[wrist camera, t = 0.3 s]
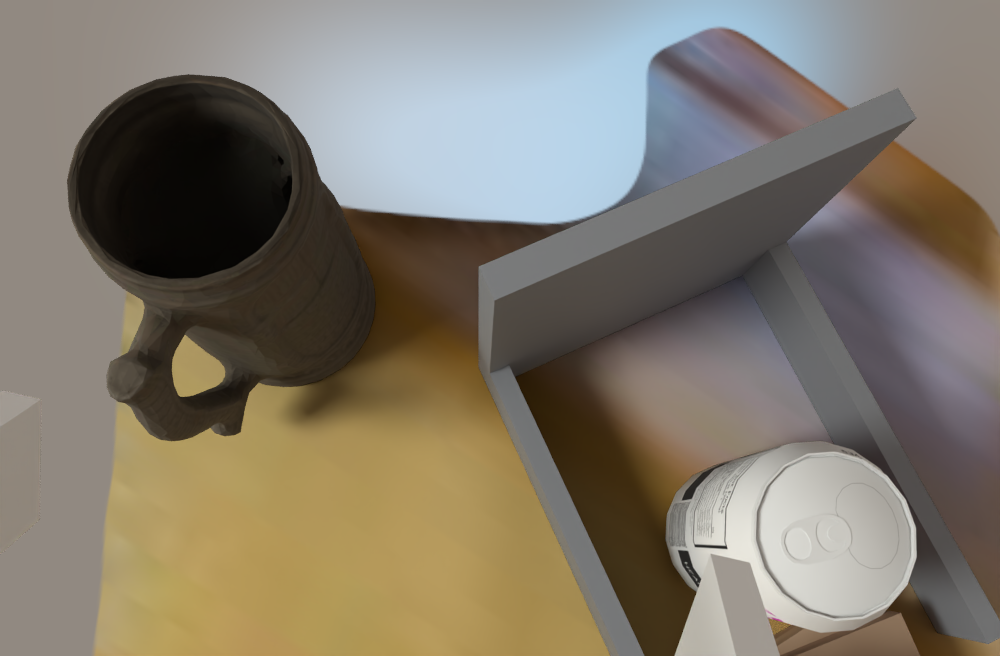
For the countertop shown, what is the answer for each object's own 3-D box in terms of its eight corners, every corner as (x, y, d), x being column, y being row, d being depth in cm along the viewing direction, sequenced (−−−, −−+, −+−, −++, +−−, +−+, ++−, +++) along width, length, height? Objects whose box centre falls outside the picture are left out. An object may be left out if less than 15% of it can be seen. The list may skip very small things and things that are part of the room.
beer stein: (224, 204, 54) (73, 48, 34) (388, 222, 54) (331, 77, 34) (182, 441, 51) (-10, 421, 31) (355, 461, 51) (272, 452, 31)
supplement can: (772, 450, 51) (890, 416, 36) (817, 586, 49) (960, 608, 34) (646, 483, 50) (714, 462, 36) (686, 622, 48) (776, 660, 34)
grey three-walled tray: (954, 623, 49) (1270, 683, 29) (665, 775, 46) (799, 949, 27) (747, 248, 54) (898, 88, 35) (478, 366, 52) (478, 266, 32)
